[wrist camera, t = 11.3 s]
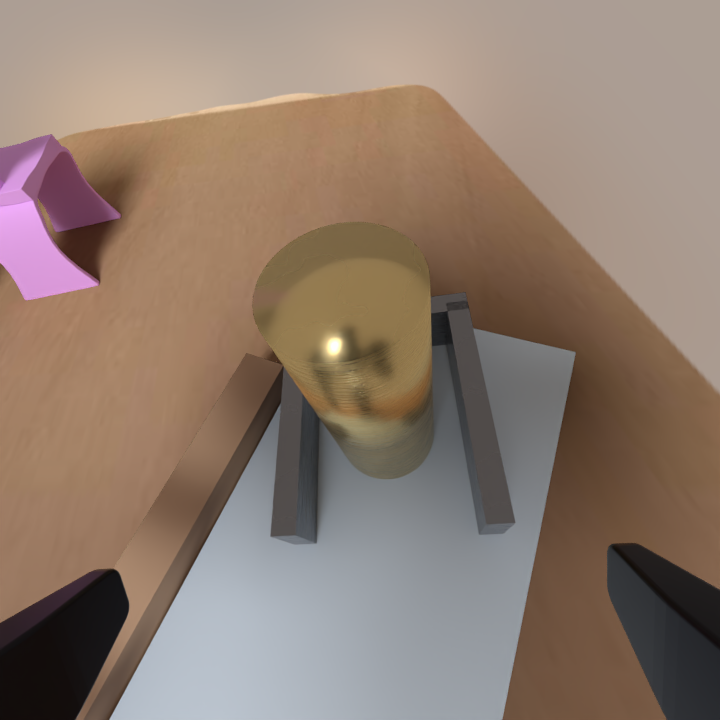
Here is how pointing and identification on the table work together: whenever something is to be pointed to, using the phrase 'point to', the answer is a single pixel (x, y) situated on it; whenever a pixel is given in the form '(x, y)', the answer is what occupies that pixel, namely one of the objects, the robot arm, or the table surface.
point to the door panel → (368, 576)
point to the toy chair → (26, 223)
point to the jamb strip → (185, 520)
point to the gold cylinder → (356, 339)
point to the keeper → (480, 442)
